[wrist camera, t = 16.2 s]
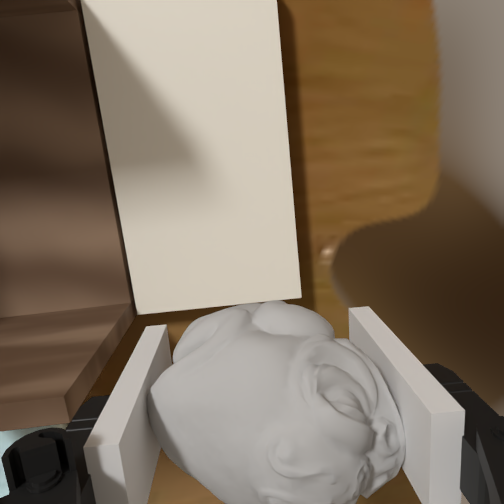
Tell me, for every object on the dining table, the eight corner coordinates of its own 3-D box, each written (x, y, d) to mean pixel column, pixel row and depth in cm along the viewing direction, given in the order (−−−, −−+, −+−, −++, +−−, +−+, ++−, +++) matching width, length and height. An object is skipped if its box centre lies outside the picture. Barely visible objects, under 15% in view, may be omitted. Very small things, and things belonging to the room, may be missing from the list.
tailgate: (143, 306, 29) (298, 290, 28) (137, 314, 27) (301, 297, 27) (89, 1, 24) (272, -20, 24) (79, -8, 23) (274, -32, 23)
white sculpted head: (330, 425, 17) (399, 608, 10) (159, 407, 16) (107, 586, 9) (362, 285, 15) (467, 382, 9) (177, 259, 15) (133, 341, 8)
